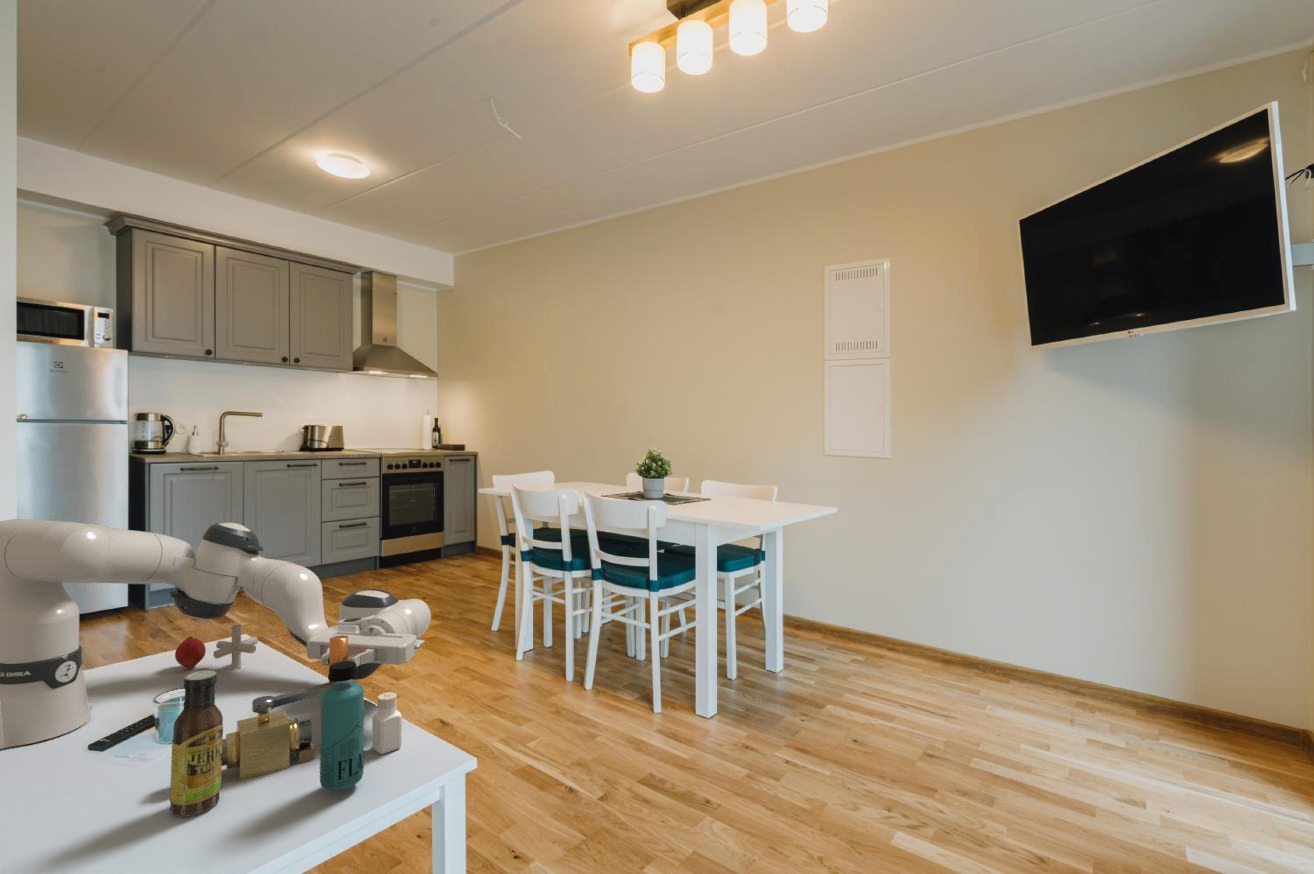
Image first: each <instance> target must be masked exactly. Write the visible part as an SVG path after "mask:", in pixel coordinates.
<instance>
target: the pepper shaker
mask: <svg viewBox="0 0 1314 874" xmlns="http://www.w3.org/2000/svg"><path fill="white" fill-rule="evenodd" d="M397 699H398V695H397V692H393V691H391V692H390V691H389V692H383V693H381V694H379V695H378V696H377V699H376V700H377V706H376V708H377V712H375V713H374V714H373V715H372V721H371V723H372V725H371V727H372V728H371V729H372V730H371V748H372V749H373V750H374V751H376V752H377V753H378V754H379V755H384V754H387V753H390V752H393V751H395V750H398V749H401V747H402V724H403V723H402V721H403V720H402V717H403V716H402V713H401V712H400V711H399V710H397V705H398V700H397Z"/></svg>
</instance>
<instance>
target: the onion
mask: <svg viewBox="0 0 1314 874" xmlns="http://www.w3.org/2000/svg"><path fill="white" fill-rule="evenodd" d="M206 649H207V647H206V646H205V643H204V642H202V641H201V640H200V639H199V638H196V637H195V636H194V634H189V637H186V638H185V639H184V640H183V641H182V642H181V643H179V645H178V647H177V648H176V649H175V653H174V658H175V661H176V662H177V664H179V665H180V666H182V667H184V668H187V669H188V670H192V669H193V668H195V667H196V666H197V665H198V664H199V663H200V662H201V661H202V660H203V659H204V657H205V655H206V652H207V651H206Z"/></svg>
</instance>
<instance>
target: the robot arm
mask: <svg viewBox="0 0 1314 874" xmlns="http://www.w3.org/2000/svg"><path fill="white" fill-rule="evenodd" d="M201 538H202V540H201V542H200V543H199V545H198V547H197V549H196V550H195V551H194V548H193V546H192V545H191V544H190V543H188V542H186V541H184V540H183V539H180V538H177V537H174V536H170V535H166V534H163V533H157V532H150V531H143V530H142V531H141V530H132V529H131V530H130V529H124V528H116V527H115V528H114V527H109V526H102V525H97V524H89V523H82V522H76V521H75V522H74V521H61V520H43V519H30V518H28V519H27V518H12V519H11V518H10V519H5V520H0V750H3V749H7V748H12V747H17V746H18V747H19V746H24V745H30V744H34V743H38V742H42V741H45V740H49V739H54V738H56V737H59V736H61V735H64V734H68V733H69V732H72V731H74V730H76V729H78V728H80V727H82V726H83V725H85V724H86V723H87V722H88V721H89V720H90V719H91V715H90V711H91V710H92V709H93V705H92V704H93V703H92V702H91V701H88V693H87V686H86V685H87V684H86V677H85V671H84V670H83V669H82V668H81V666H83V658H84V655H83V654H84V652H83V647H82V646H81V645H80V608H79V606H78V604H77V602H76V601H75V600H74V599H73V598H72V597H71V596H70V595H69V593H68V592H67V590H66V589H65V587H64V583H66V584H69V583H70V584H73V583H74V584H75V583H76V584H91V583H92V584H94V583H97V584H125V585H127V584H128V585H152V584H153V585H154V584H163V585H164V584H166V585H170V586H174V587H175V589H176V590H171V591H169V592H168V593H169V595H168V596H169V597H170V598H173V601H174V604H175V606H176V608H177V609H178V610H179V612H181V613H182V614H183V615H187V616H188V617H189V618H192V619H195V620H199V621H208V620H209V621H210V620H218V619H220V618H223V617H225V616H226V615H227V614H228V613H229V611H230V609H231V608H232V606H233V604H234V600H235V599H236V597H237V595H238V592H239V590H240V588H241V587H242V590H243V593H245V595H247V596H248V597H249V598H251V599H252V600H253V601H254V602H256V603H257V604H259V605H261V606H263V607H264V608H267V609H269V610H271V611H272V612H274V613H275V614H276V615H277V616H278V617H279V619H281V621H282V622H283V623H284V625H285V627H286V629H287V631H288V632H289V634H290V635H291V637H293V638H294V639H295V640H296V641H297V642H298V643H300V644H301V645H303V646H304V647H305V648H306V657H307V658H308V659H311V660H312V659H313V660H320V665H321V666H329V646H330V638H331V637H334V636H340V635H344V636H348V659H347V661H354V662H355V663H356V667H357V676H356V677H355V678H353V679H351V680H352V681H358V680H359V681H360V680H364V679H366V678H369V676H371V675H373V674H374V673H375V672H376V671H377V670H379V668H380V667H381V666H382V665H383V664H385V665H403V664H406V663H408V662H409V661H411V659H412V658H414V656H415V655H416V654H417V650H418V649H421V648H422V647H423V646H425V644H426V641H425V640H424V639H422V638H421V636H423V635H424V634H425V632H426V631H427V630H428V628H429V627H430V625H431V621H432V613H431V609H430V607H429V606H428V604H427V603H426V602H425V601H424V600H422V599H419V598H410V599H398V598H397V597H396V596H394V595H393V594H391V592H388V591H385V590H382V589H378V588H365V589H361V590H357V591H355V592H353V593H351V594H349V595H347V596H346V597H345V598H344V599H343V600H342V601H340V602H341V605H340V609H339V615H338V620H337V622H336V625H334V626H333V625H332V626H330V627H329V626H328V624H327V621H326V617H325V611H324V610H325V609H324V595H323V594H324V592H323V586H322V582H321V580H320V578H319V576H318V575H316V574H315V572H313V571H312V570H310V569H309V568H307V567H305V566H302V565H299V564H297V563H293V562H290V561H287V560H286V561H285V560H281V559H272V558H265V557H262V556H260V552H263V551H264V546H261V545H260V541H259V538H258V536H257V535H256V534H255V532H254V531H253V530H250V529H249V528H247V527H246V526H244V525H242V524H240V523H237V522H236V523H235V522H221V523H220V522H219V523H217V522H216V523H214V524H212V525H210V526H209V527H208V528H207V529H206V531H205V532H204V534H203V535H202V537H201Z"/></svg>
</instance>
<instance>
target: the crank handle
mask: <svg viewBox="0 0 1314 874" xmlns="http://www.w3.org/2000/svg"><path fill="white" fill-rule="evenodd" d="M347 659H348V636H344V635H340V636H334V637H331V638H330V646H329V665H328V668H329V667H330V666H331V665H332V664H334V663H337V662H340V661H347ZM333 683H335V682H333V681H329V680H328V682H325V683H321V684H317V685H314V686H311V687H306V688H303V689H299V690H298V689H297V690H294V691H291V692H286V693H284V694H283V693H282V694H279V695H275V696H273V695H263V696H259V697H256V698H254V699H253V700H252V702H251V704H252V706H251V707H252V709H251V710H252V713H255V714H258V713H262V712H267V711H269V712H270V711H272V710H274V709H275V708H279V707H282V706H283V707H284V706H285V705H286V706H287V705H289V704H293V703H296V702H300V701H304V700H308V699H311V698H315V697H318V696H321V694H322V692H323V691H324V690H325V689H326V688H327V687H328V686H330V685H331V684H333Z"/></svg>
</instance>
